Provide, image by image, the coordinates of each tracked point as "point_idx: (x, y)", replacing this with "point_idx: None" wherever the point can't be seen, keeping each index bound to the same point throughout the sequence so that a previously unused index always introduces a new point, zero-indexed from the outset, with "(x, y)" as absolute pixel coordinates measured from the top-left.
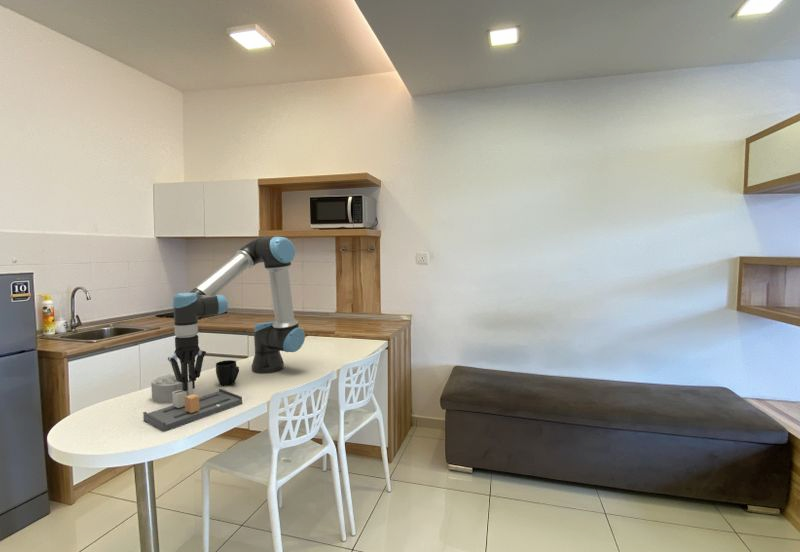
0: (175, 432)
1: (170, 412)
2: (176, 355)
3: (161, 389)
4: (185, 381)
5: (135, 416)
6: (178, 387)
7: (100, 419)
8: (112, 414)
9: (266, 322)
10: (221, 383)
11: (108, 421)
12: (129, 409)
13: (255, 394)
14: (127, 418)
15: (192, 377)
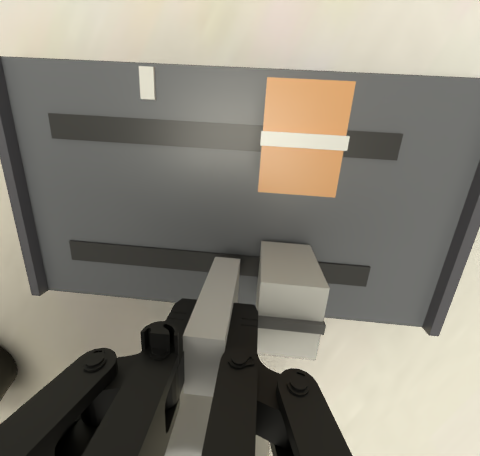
0: (472, 11)
1: (354, 240)
2: None
3: None
4: (250, 359)
5: (399, 369)
6: (198, 427)
7: (471, 441)
8: (420, 446)
9: None
10: (3, 370)
11: (475, 406)
12: (361, 439)
13: None
14: (426, 376)
15: (163, 372)
